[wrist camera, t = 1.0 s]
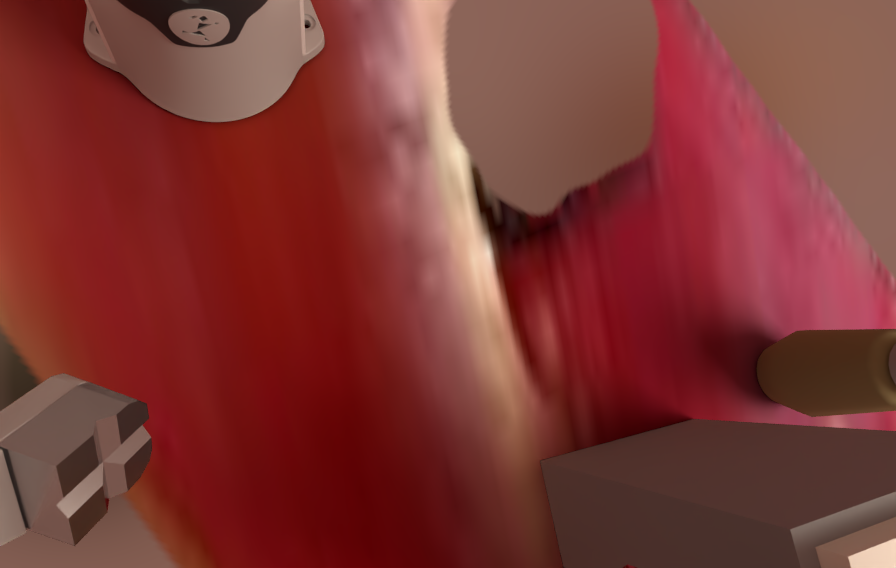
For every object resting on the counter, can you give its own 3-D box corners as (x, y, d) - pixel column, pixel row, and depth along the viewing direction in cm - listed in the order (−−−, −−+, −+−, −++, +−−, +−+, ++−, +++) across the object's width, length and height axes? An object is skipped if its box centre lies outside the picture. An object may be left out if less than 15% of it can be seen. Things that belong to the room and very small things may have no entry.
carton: (539, 460, 48) (790, 529, 24) (693, 418, 53) (1038, 440, 28) (572, 607, 47) (877, 844, 22) (728, 551, 51) (1127, 697, 27)
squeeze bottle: (760, 318, 57) (958, 286, 40) (822, 359, 58) (1040, 344, 41) (734, 389, 55) (932, 387, 38) (798, 430, 56) (1019, 446, 39)
